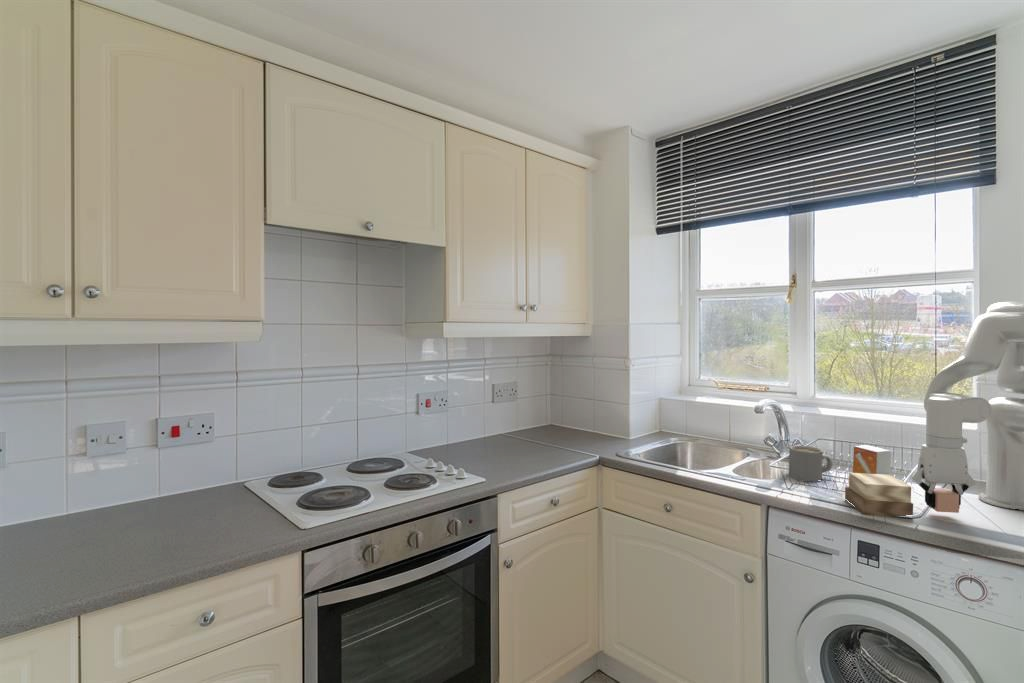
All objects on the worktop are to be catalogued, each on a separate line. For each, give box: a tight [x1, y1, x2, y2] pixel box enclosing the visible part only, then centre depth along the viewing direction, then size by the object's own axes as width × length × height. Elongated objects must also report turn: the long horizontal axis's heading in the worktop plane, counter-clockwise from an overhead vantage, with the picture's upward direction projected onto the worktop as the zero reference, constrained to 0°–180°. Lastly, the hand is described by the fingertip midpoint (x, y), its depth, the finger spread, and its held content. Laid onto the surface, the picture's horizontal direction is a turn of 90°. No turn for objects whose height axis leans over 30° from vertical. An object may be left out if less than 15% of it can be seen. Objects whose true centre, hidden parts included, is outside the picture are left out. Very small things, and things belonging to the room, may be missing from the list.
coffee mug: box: [788, 444, 833, 482], centre depth 174 cm, size 13×10×10 cm
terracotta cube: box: [928, 487, 960, 514], centre depth 140 cm, size 5×5×5 cm
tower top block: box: [848, 472, 912, 503], centre depth 145 cm, size 11×11×4 cm
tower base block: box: [844, 486, 914, 518], centre depth 146 cm, size 12×12×4 cm
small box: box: [852, 444, 892, 475], centre depth 164 cm, size 8×6×13 cm
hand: (942, 506), depth 140 cm, fingers closed on terracotta cube, 5 cm apart
